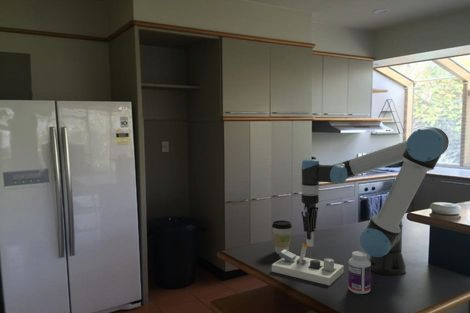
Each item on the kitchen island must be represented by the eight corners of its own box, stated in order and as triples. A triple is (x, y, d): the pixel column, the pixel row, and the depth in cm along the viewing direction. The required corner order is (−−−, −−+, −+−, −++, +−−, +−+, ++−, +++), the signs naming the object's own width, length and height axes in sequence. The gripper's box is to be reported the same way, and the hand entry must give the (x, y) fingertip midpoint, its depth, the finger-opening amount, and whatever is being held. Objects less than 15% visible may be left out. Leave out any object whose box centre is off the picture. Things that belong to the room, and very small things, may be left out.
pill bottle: (365, 285, 149) (366, 249, 147) (374, 294, 141) (374, 256, 139) (345, 286, 148) (345, 250, 147) (352, 295, 140) (352, 257, 139)
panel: (343, 272, 162) (343, 261, 162) (329, 285, 149) (329, 274, 149) (289, 260, 177) (288, 250, 177) (271, 271, 164) (271, 261, 164)
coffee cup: (291, 256, 183) (291, 225, 181) (271, 255, 185) (270, 224, 183) (292, 249, 192) (292, 220, 191) (273, 248, 194) (272, 219, 193)
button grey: (335, 269, 158) (335, 259, 158) (331, 272, 155) (331, 262, 154) (325, 267, 160) (325, 257, 160) (321, 270, 157) (322, 260, 157)
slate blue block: (295, 259, 169) (296, 254, 168) (290, 262, 165) (291, 257, 165) (283, 253, 172) (284, 248, 171) (278, 256, 168) (280, 251, 168)
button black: (321, 270, 162) (321, 261, 161) (317, 273, 158) (317, 264, 158) (312, 268, 164) (312, 259, 164) (308, 271, 161) (308, 262, 160)
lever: (305, 263, 165) (309, 243, 168) (302, 262, 163) (307, 242, 166) (299, 262, 166) (303, 242, 169) (297, 260, 164) (301, 241, 167)
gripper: (308, 191, 177) (308, 240, 179) (295, 195, 167) (295, 248, 169) (323, 192, 173) (323, 243, 175) (311, 197, 162) (311, 251, 164)
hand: (309, 245), depth 172 cm, fingers closed
